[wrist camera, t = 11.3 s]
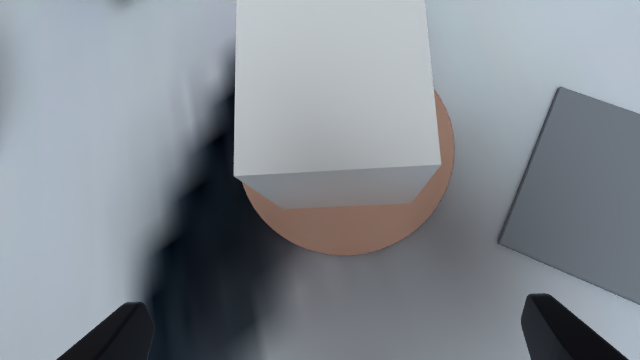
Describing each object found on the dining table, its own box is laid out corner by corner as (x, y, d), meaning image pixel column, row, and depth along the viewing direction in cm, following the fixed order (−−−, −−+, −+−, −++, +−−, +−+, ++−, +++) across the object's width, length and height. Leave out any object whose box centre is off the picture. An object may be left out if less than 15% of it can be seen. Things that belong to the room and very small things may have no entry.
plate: (296, 295, 22) (294, 296, 22) (209, 111, 25) (205, 107, 25) (495, 190, 22) (499, 188, 22) (384, 18, 25) (385, 13, 25)
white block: (410, 203, 22) (441, 164, 13) (283, 209, 23) (233, 176, 14) (401, 83, 24) (422, -21, 15) (282, 93, 25) (236, -2, 16)
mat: (689, 326, 20) (696, 327, 20) (497, 243, 22) (500, 242, 21) (741, 153, 21) (748, 151, 21) (557, 89, 23) (560, 87, 23)
